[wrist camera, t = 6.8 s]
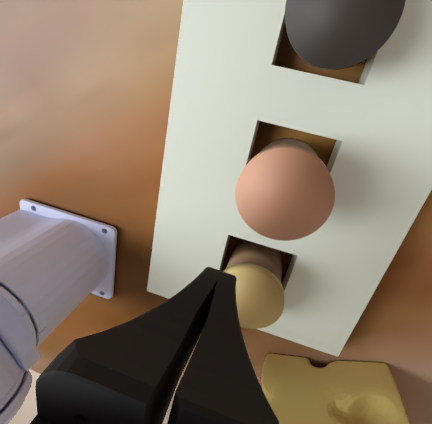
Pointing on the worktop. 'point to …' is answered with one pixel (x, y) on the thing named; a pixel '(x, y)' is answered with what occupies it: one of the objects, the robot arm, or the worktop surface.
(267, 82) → the socket board
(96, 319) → the worktop surface
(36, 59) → the worktop surface
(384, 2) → the plug black
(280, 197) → the plug terracotta
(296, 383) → the cheese
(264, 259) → the plug brass
